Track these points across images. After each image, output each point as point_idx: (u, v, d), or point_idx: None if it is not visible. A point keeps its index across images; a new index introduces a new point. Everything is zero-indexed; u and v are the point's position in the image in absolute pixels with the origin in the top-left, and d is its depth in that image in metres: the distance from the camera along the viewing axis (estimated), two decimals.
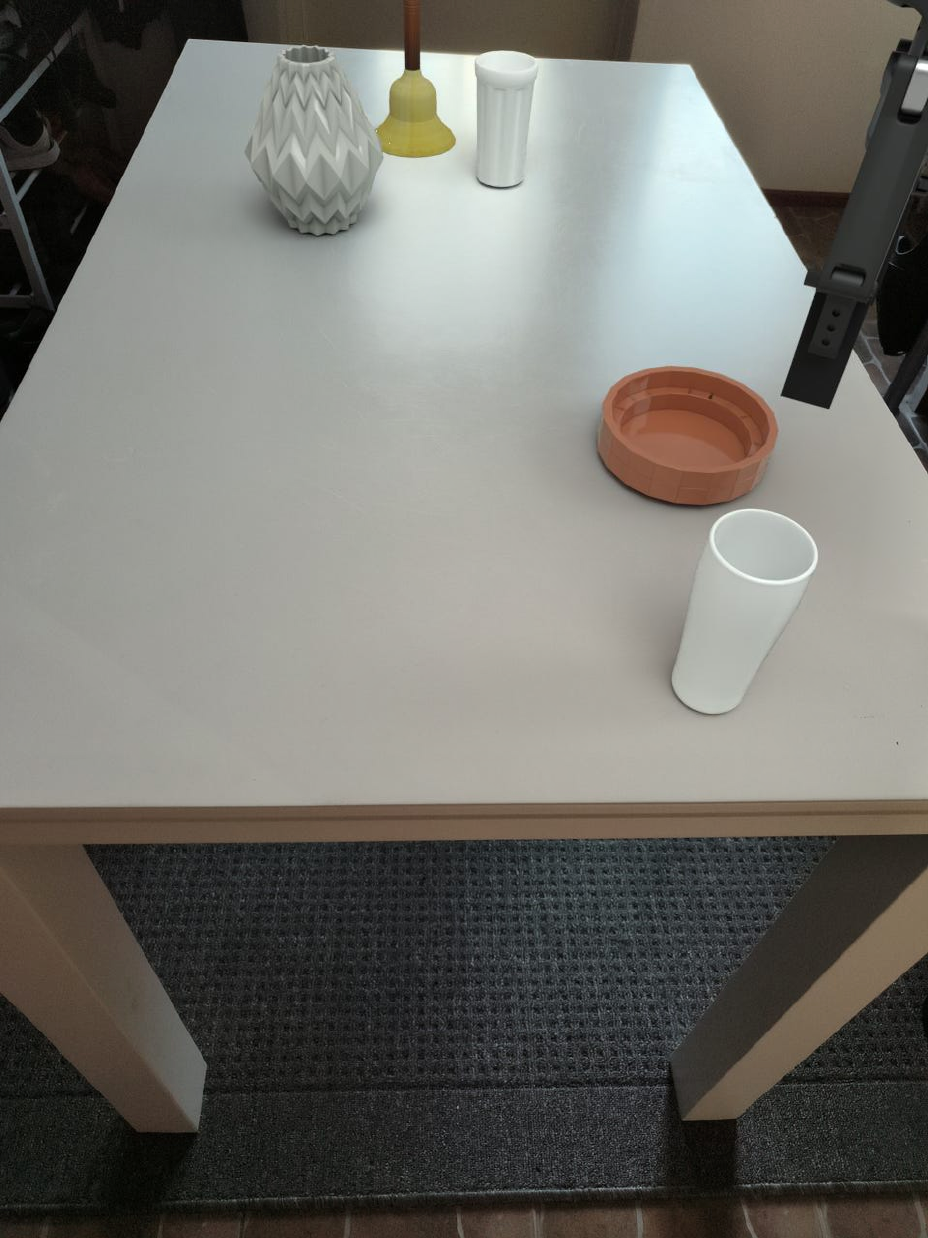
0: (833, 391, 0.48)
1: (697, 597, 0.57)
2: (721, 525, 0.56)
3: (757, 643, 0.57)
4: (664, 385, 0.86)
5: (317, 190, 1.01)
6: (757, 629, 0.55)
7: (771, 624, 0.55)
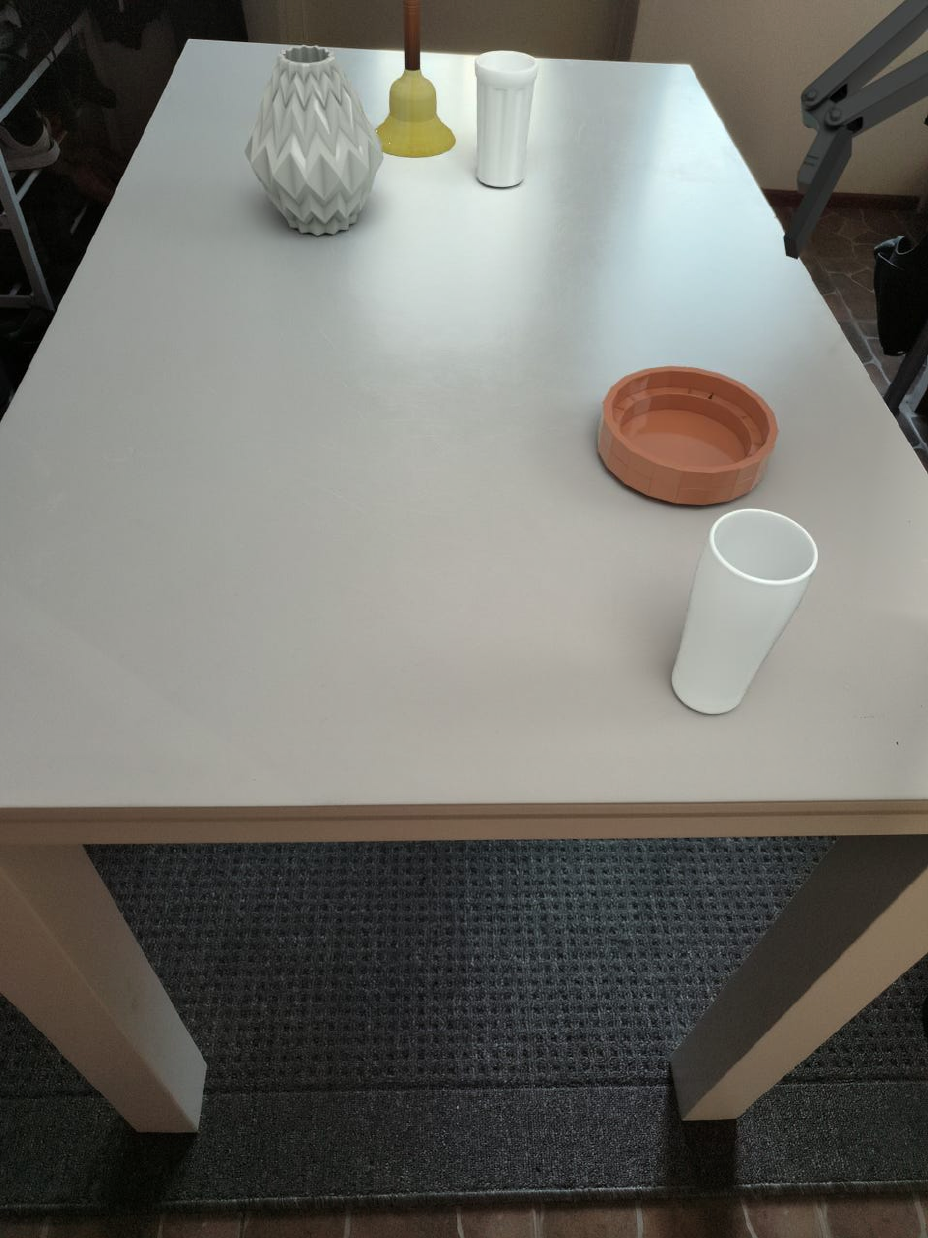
0: (792, 220, 0.51)
1: (697, 597, 0.57)
2: (721, 525, 0.56)
3: (757, 643, 0.57)
4: (664, 385, 0.86)
5: (317, 190, 1.01)
6: (757, 629, 0.55)
7: (771, 624, 0.55)
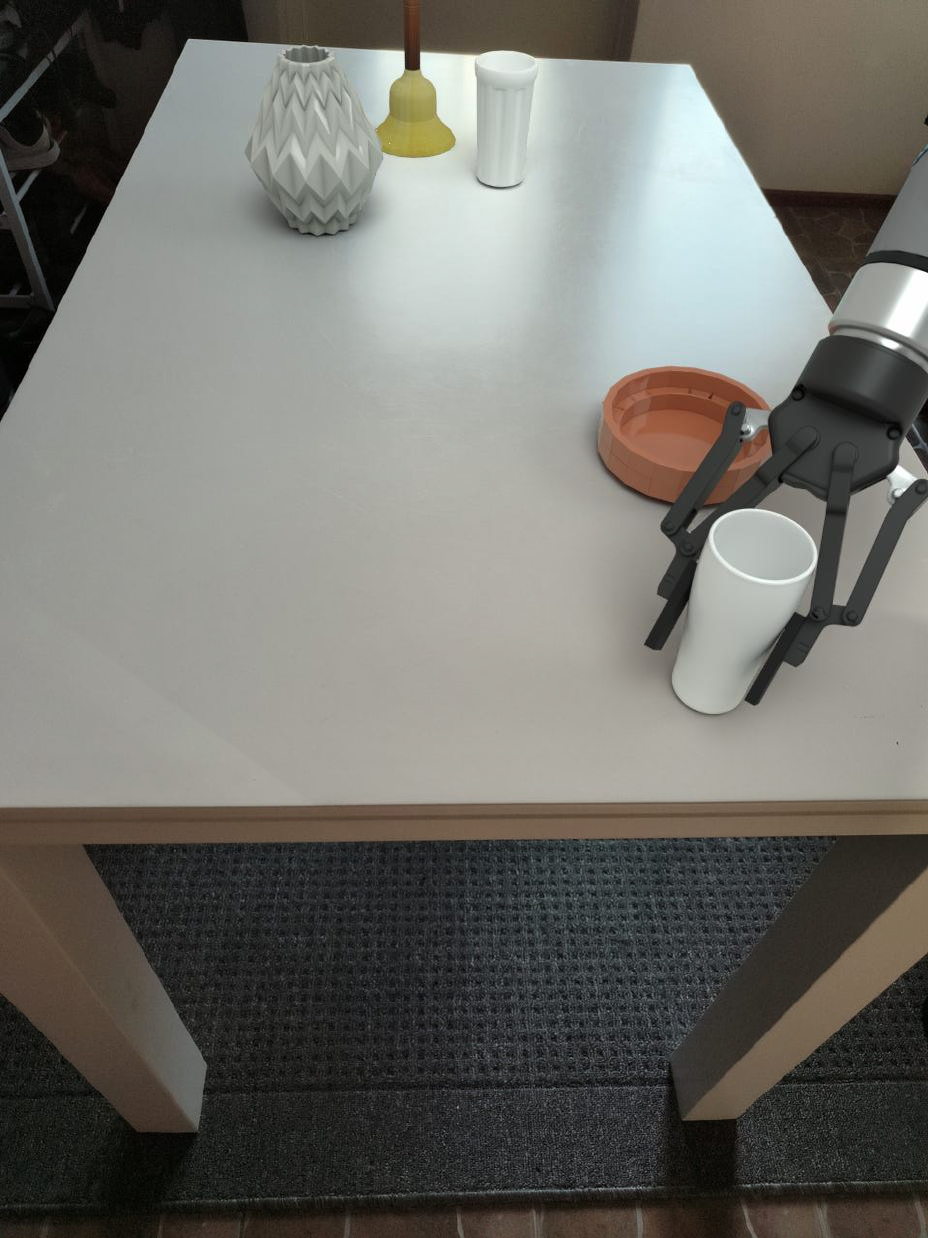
0: (651, 630, 0.60)
1: (697, 597, 0.57)
2: (721, 525, 0.56)
3: (757, 643, 0.57)
4: (664, 385, 0.86)
5: (317, 190, 1.01)
6: (757, 629, 0.55)
7: (771, 624, 0.55)
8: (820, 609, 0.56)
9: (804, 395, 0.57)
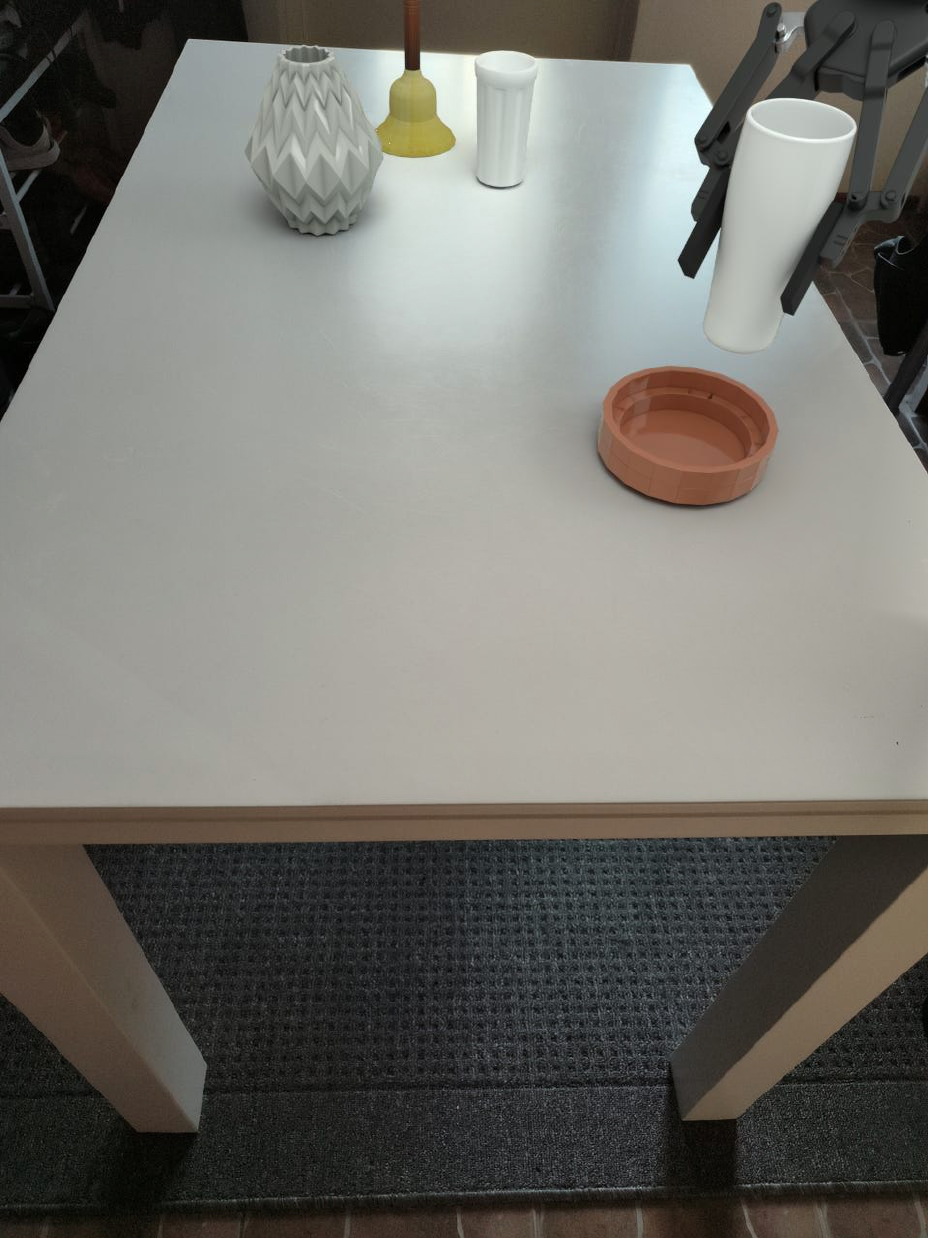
0: (685, 245, 0.60)
1: (733, 191, 0.57)
2: (757, 112, 0.56)
3: (794, 235, 0.56)
4: (664, 385, 0.86)
5: (317, 190, 1.01)
6: (794, 212, 0.55)
7: (809, 205, 0.55)
8: None
9: None
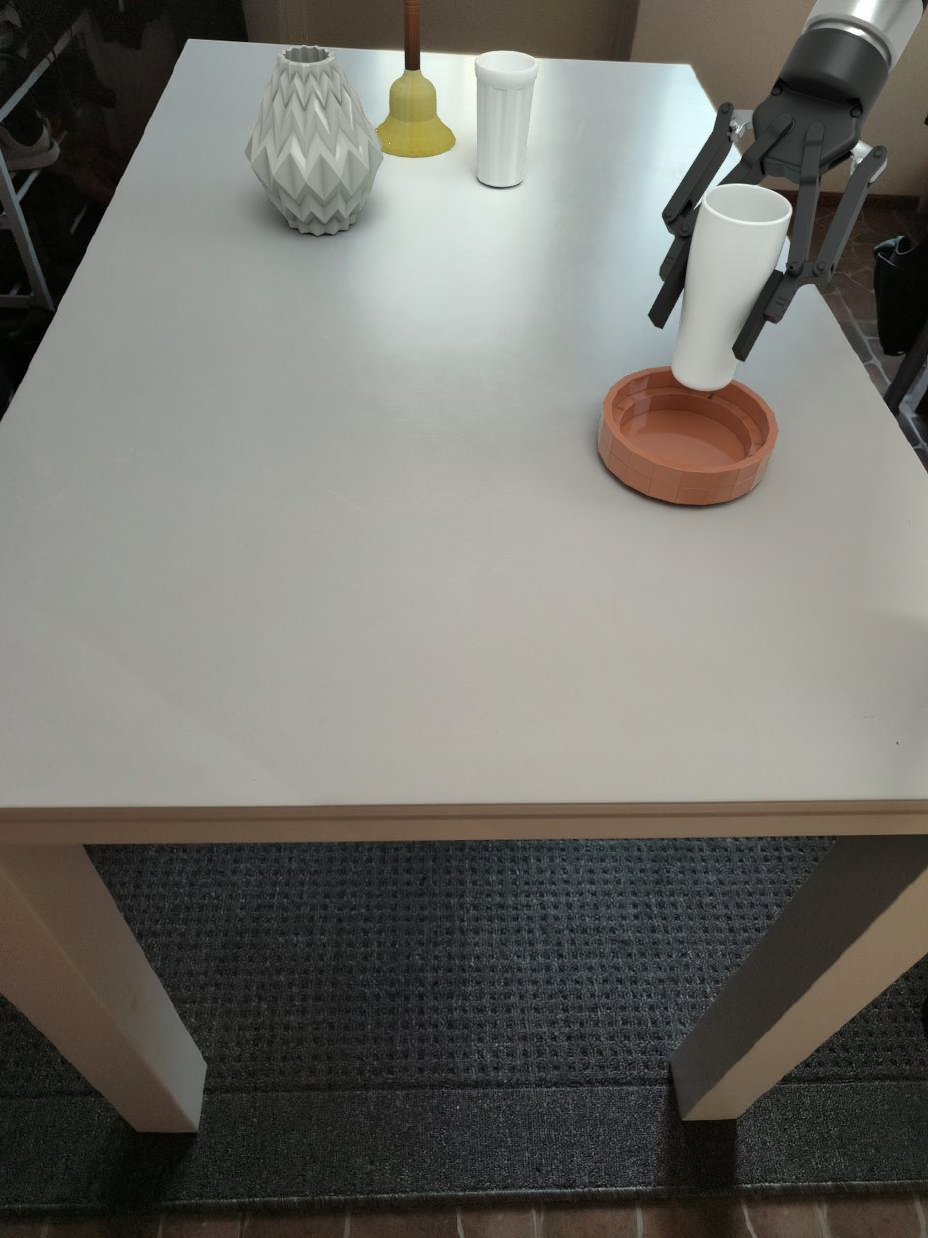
0: (654, 302, 0.71)
1: (692, 260, 0.68)
2: (712, 196, 0.67)
3: (743, 297, 0.68)
4: (664, 385, 0.86)
5: (317, 190, 1.01)
6: (742, 278, 0.67)
7: (754, 273, 0.66)
8: None
9: (782, 90, 0.68)
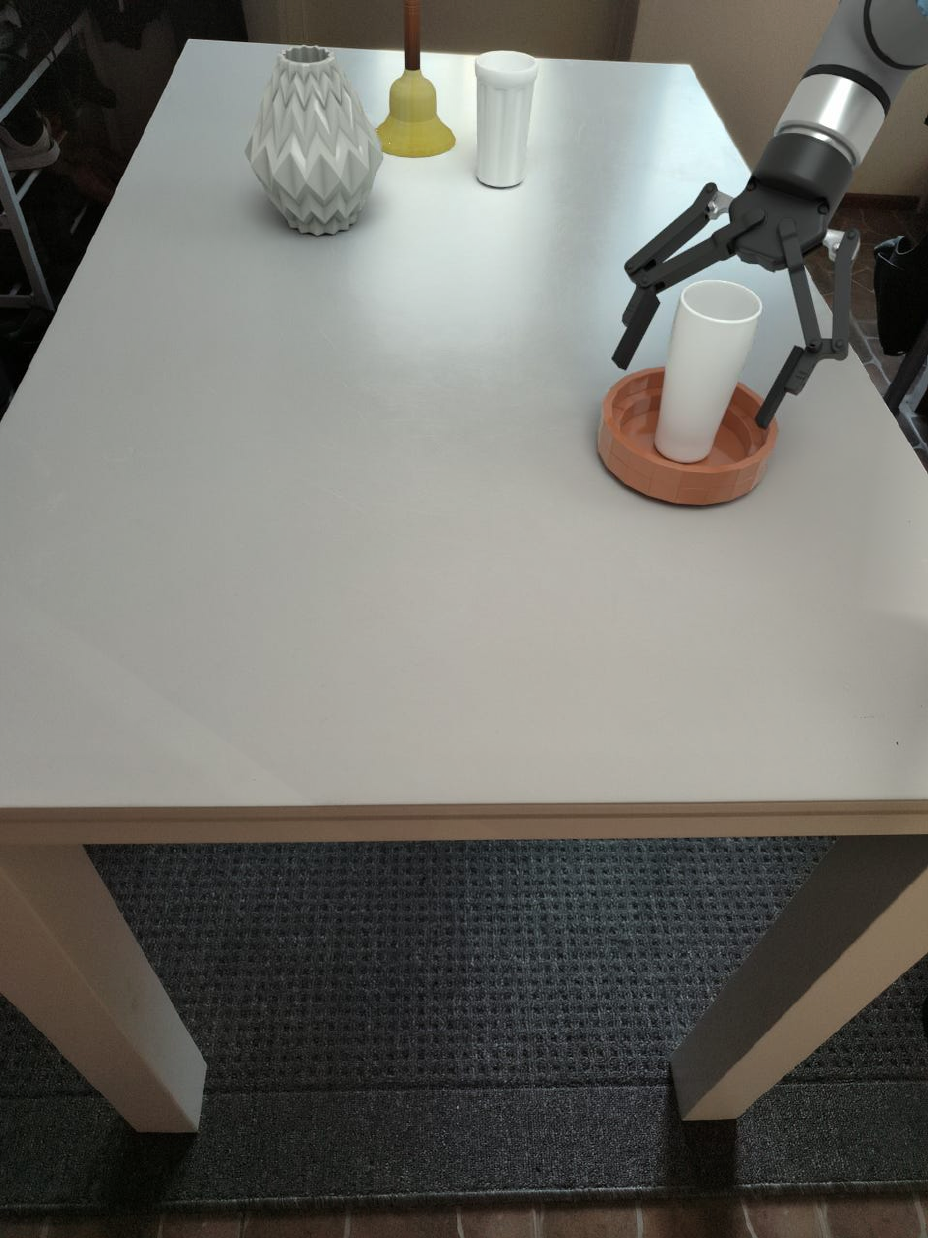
0: (617, 347, 0.77)
1: (672, 349, 0.74)
2: (690, 291, 0.73)
3: (718, 383, 0.74)
4: None
5: (317, 190, 1.01)
6: (717, 368, 0.73)
7: (727, 363, 0.72)
8: (814, 340, 0.71)
9: (756, 186, 0.74)
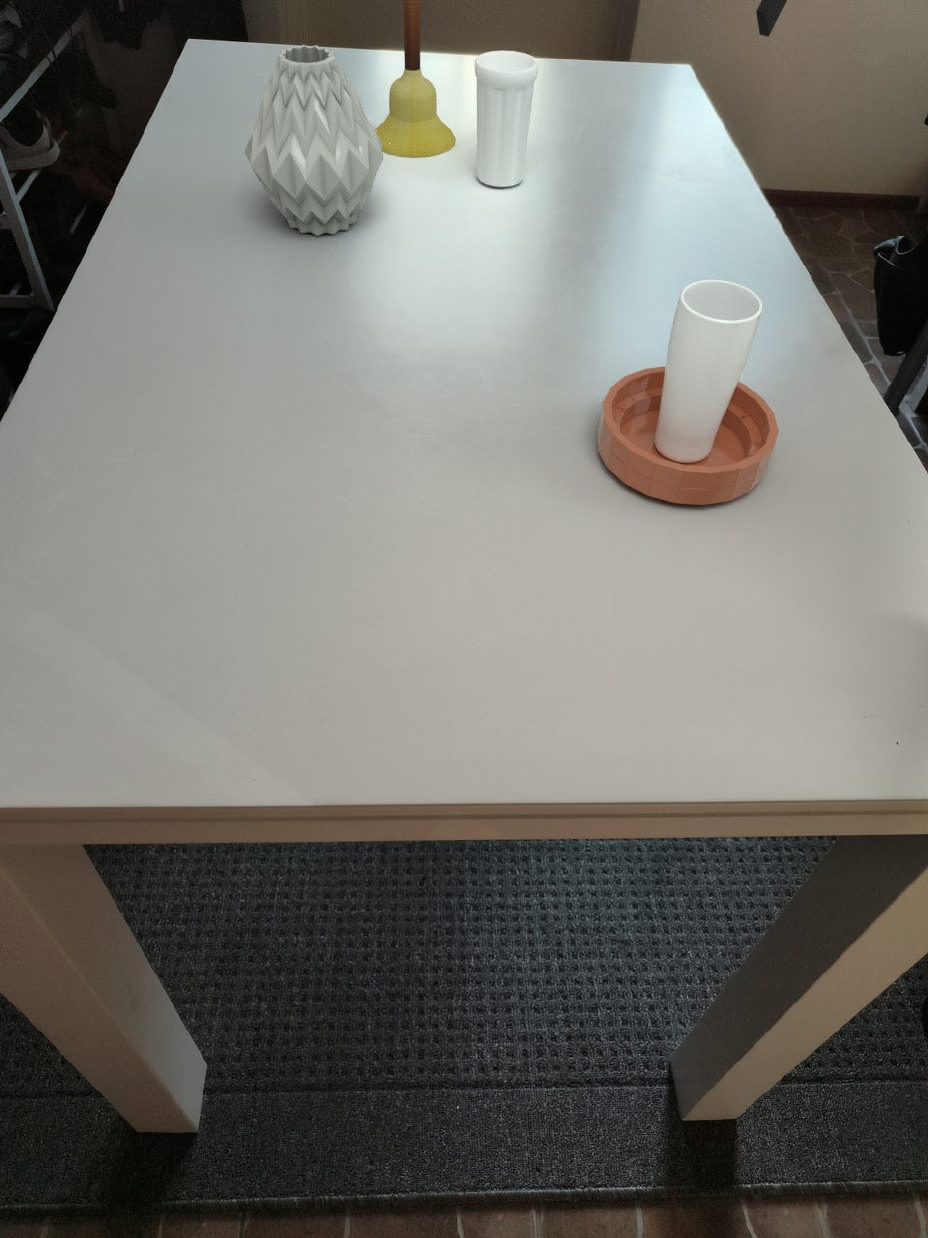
0: None
1: (672, 349, 0.74)
2: (690, 291, 0.73)
3: (718, 383, 0.74)
4: None
5: (317, 190, 1.01)
6: (717, 368, 0.73)
7: (727, 363, 0.72)
8: None
9: None
